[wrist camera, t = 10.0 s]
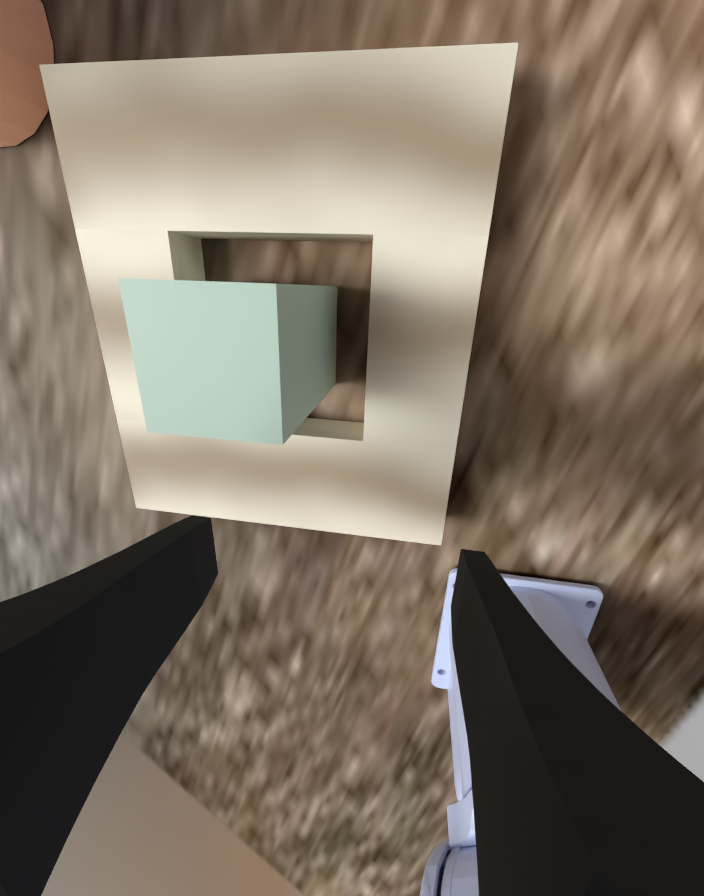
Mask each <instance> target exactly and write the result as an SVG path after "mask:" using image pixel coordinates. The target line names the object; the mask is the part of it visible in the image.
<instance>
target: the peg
mask: <svg viewBox="0 0 704 896" xmlns="http://www.w3.org/2000/svg"><path fill="white" fill-rule="evenodd" d="M118 281H119V287H120V292H121V297H122V302H123V308H124V313H125V318H126V323H127V329H128V334H129V339H130V344H131V350H132V355H133V360H134V365H135V371H136V376H137V381H138V386H139V392H140V397H141V402H142V407H143V413H144V418H145V423H146V428H147V432H149V433H160V434H171V435H181V436H192V437H203V438H213V439H224V440H235V441H245V442H256V443H267V444H277V445H283V444H284V443H285V442H286V441H287V440H288V438H289V437H290V436H291V435H292V434H293V433H294V432H295V430H296V429H297V428H298V427H299V426H300V425H301V423H302V422H303V421H304V420H305V419H306V418H307V417H308V415H309V414H310V413H311V412H312V411H313V410H314V408H315V407H316V406H317V405H318V404H319V403H320V402H321V400H322V399H323V398H324V397H325V396H326V395H327V393H328V392H329V391H330V390H331V389H332V388H333V387H334V385H335V384H336V336H337V286H318V285H295V284H271V283H243V282H215V281H186V280H158V279H130V278H118Z"/></svg>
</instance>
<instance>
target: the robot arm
mask: <svg viewBox="0 0 704 896" xmlns="http://www.w3.org/2000/svg"><path fill="white" fill-rule="evenodd" d="M217 574H218V569H217V561H216V554H215V546H214V538H213V531H212V523H211V518H207V517H199V516H190V517H187V518H185V519H183V520H181V521H179V522H177V523H174V524H172V525H170V526H169V527H167V528H165V529H163V530H161V531H159V532H157V533H155V534H153V535H151V536H149V537H147V538H145V539H143V540H141V541H139V542H137V543H136V544H134V545H132V546H130V547H128V548H126V549H124V550H122V551H120V552H118V553H116V554H114V555H112V556H110V557H107V558H105V559H103V560H101V561H99V562H97V563H95V564H93V565H91V566H89V567H86V568H84V569H82V570H80V571H78V572H76V573H74V574H71V575H69V576H67V577H64V578H62V579H60V580H57V581H55V582H53V583H50V584H48V585H45V586H43V587H40V588H38V589H35V590H33V591H30V592H28V593H25V594H22V595H20V596H17V597H14V598H11V599H8V600H5V601H2V602H0V896H41V894H42V892H43V890H44V888H45V886H46V883H47V881H48V879H49V877H50V875H51V872H52V870H53V868H54V866H55V864H56V862H57V859H58V857H59V855H60V853H61V851H62V849H63V847H64V844H65V842H66V840H67V838H68V836H69V834H70V832H71V830H72V827H73V826H74V824H75V821H76V819H77V817H78V815H79V813H80V811H81V809H82V807H83V805H84V803H85V801H86V799H87V797H88V795H89V793H90V791H91V789H92V787H93V785H94V783H95V781H96V779H97V777H98V775H99V773H100V771H101V770H102V768H103V766H104V763H105V762H106V760H107V758H108V756H109V754H110V752H111V751H112V749H113V747H114V745H115V743H116V741H117V739H118V737H119V735H120V734H121V732H122V730H123V728H124V726H125V725H126V723H127V721H128V719H129V717H130V716H131V714H132V712H133V710H134V708H135V707H136V705H137V703H138V701H139V700H140V698H141V696H142V694H143V693H144V691H145V690H146V688H147V686H148V685H149V683H150V682H151V680H152V678H153V677H154V675H155V674H156V672H157V671H158V669H159V668H160V667H161V665H162V664H163V662H164V661H165V659H166V658H167V656H168V655H169V653H170V652H171V650H172V649H173V647H174V646H175V645H176V643H177V642H178V640H179V639H180V637H181V636H182V634H183V633H184V631H185V630H186V628H187V627H188V625H189V624H190V622H191V621H192V619H193V618H194V616H195V615H196V613H197V612H198V610H199V609H200V607H201V606H202V604H203V602H204V600H205V598H206V597H207V595H208V593H209V591H210V589H211V587H212V585H213V583H214V581H215V579H216V576H217ZM454 583H455V585H454ZM602 600H603V593H602V592H601V590H600V588H598V587H597V586H593V585H586V584H578V583H570V582H563V581H555V580H547V579H540V578H532V577H524V576H517V575H509V574H501V573H499V572H498V570H497V569H496V567H495V566H494V564H493V563H492V562H491V560H490V559H489V557H488V556H487V555H486V553H485V552H481V551H473V550H465V549H461V552H460V557H459V563H458V568H455V569H452V570H451V571H450V573H449V576H448V582H447V588H446V594H445V600H444V606H443V612H442V618H441V624H440V629H439V635H438V641H437V647H436V653H435V659H434V665H433V671H432V684H433V685H434V686H435V687H438V688H443V689H448V700H449V713H450V726H451V740H452V753H453V766H454V779H455V788H456V794H457V799H458V802H457V803H454V804H450V805H448V806H447V814H448V830H449V840H448V841H444V842H441V843H440V844H439V845H437V846H436V847H435V848H434V850H433V851H432V853H431V855H430V856H429V859H428V862H427V865H426V867H425V871H424V876H423V880H422V885H421V892H420V896H704V782H703V781H702V780H700V779H699V778H698V777H697V776H695V775H694V774H693V773H692V772H691V771H689V770H688V769H687V768H686V767H684V766H683V765H682V764H681V763H679V762H678V761H677V760H676V759H675V758H674V757H672V756H671V755H670V754H669V753H668V752H667V751H665V750H664V749H663V748H662V747H661V746H659V745H658V744H657V743H656V742H655V741H654V740H652V739H651V738H650V737H649V736H648V735H647V734H646V733H645V732H643V731H642V730H641V729H640V728H639V727H638V726H637V725H636V724H635V723H634V722H632V721H631V720H630V719H629V718H628V717H627V716H626V715H625V714H624V713H622V711H621V709H620V707H619V705H618V703H617V701H616V699H615V697H614V695H613V693H612V691H611V689H610V687H609V684H608V682H607V680H606V678H605V676H604V674H603V672H602V670H601V668H600V666H599V664H598V662H597V660H596V658H595V656H594V654H593V652H592V649H591V647H590V645H589V643H588V641H587V639H588V636H589V634H590V631H591V629H592V626H593V623H594V621H595V618H596V615H597V613H598V610H599V608H600V605H601V602H602ZM588 601H592V602H590V603H587V602H588Z"/></svg>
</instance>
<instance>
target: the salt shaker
mask: <svg viewBox="0 0 704 896" xmlns="http://www.w3.org/2000/svg"><path fill="white" fill-rule="evenodd" d="M42 64H54V52H53V42H52V38H51V34H50V30H49V26H48V22H47V18H46V14H45V9H44V6H43V3H42V1H41V0H0V147H8V146H16V145H18V144H19V143H21V142H22V141H24V140H25V139H27V138H28V137H30V136H31V135H33V134H34V133H35V132H36V130H37V129H38V127H39V125H40V124H41V122H42V120H43V119H44V117H45V115H46V114H47V112H48V109H49V107H48V103H47V98H46V94H45V89H44V84H43V80H42V75H41V71H40V66H39V65H42Z"/></svg>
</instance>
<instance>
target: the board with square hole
mask: <svg viewBox="0 0 704 896" xmlns="http://www.w3.org/2000/svg"><path fill="white" fill-rule="evenodd" d="M517 49H518V43H500V44H478V45H456V46H435V47H413V48H391V49H369V50H348V51H326V52H304V53H282V54H260V55H239V56H217V57H195V58H173V59H151V60H130V61H108V62H86V63H64V64H42V65H39V66H40V71H41V75H42V80H43V84H44V89H45V94H46V98H47V103H48V107H49V112H50V116H51V121H52V126H53V130H54V135H55V139H56V144H57V148H58V153H59V157H60V162H61V167H62V171H63V176H64V180H65V185H66V189H67V194H68V198H69V203H70V208H71V212H72V217H73V221H74V226H75V230H76V235H77V240H78V244H79V249H80V253H81V258H82V262H83V267H84V271H85V276H86V281H87V285H88V290H89V294H90V299H91V303H92V308H93V312H94V317H95V322H96V326H97V331H98V335H99V340H100V344H101V349H102V354H103V358H104V363H105V367H106V372H107V376H108V381H109V385H110V390H111V395H112V399H113V404H114V408H115V413H116V417H117V422H118V426H119V431H120V436H121V440H122V445H123V449H124V454H125V458H126V463H127V468H128V472H129V477H130V481H131V486H132V490H133V495H134V499H135V504H136V508H143V509H151V510H159V511H167V512H175V513H183V514H191V515H199V516H207V517H215V518H223V519H231V520H240V521H248V522H256V523H264V524H272V525H280V526H288V527H296V528H304V529H312V530H320V531H329V532H337V533H345V534H353V535H361V536H369V537H377V538H385V539H393V540H401V541H409V542H417V543H426V544H434V545H441V543H442V536H443V530H444V523H445V517H446V510H447V504H448V497H449V491H450V484H451V478H452V471H453V465H454V458H455V452H456V445H457V439H458V432H459V426H460V419H461V413H462V406H463V400H464V393H465V387H466V380H467V374H468V367H469V361H470V354H471V348H472V341H473V335H474V328H475V322H476V315H477V309H478V302H479V296H480V289H481V283H482V276H483V270H484V263H485V257H486V250H487V244H488V237H489V231H490V224H491V218H492V211H493V205H494V198H495V192H496V185H497V179H498V172H499V166H500V159H501V153H502V146H503V140H504V133H505V127H506V120H507V114H508V107H509V101H510V94H511V88H512V81H513V75H514V68H515V62H516V55H517ZM201 239H241V240H288V241H335V242H373V251H372V271H371V291H370V311H369V332H368V352H367V372H366V393H365V413H364V422H352V421H340V420H328V419H316V418H306V419H305V420H304V421H303V422H302V423H301V425H300V426H299V427H298V428H297V429H296V430H295V432H294V433H293V434H292V435H291V436H290V437H289V438H288V440H287V441H286V442H285V443H284V444H283V445H277V444H267V443H256V442H245V441H235V440H224V439H213V438H203V437H192V436H181V435H171V434H160V433H149V432H147V428H146V423H145V418H144V413H143V407H142V402H141V397H140V392H139V386H138V381H137V376H136V371H135V365H134V360H133V355H132V350H131V344H130V339H129V334H128V329H127V323H126V318H125V313H124V308H123V302H122V297H121V292H120V287H119V281H118V278H130V279H158V280H186V281H206V280H205V271H204V261H203V252H202V243H201Z"/></svg>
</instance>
